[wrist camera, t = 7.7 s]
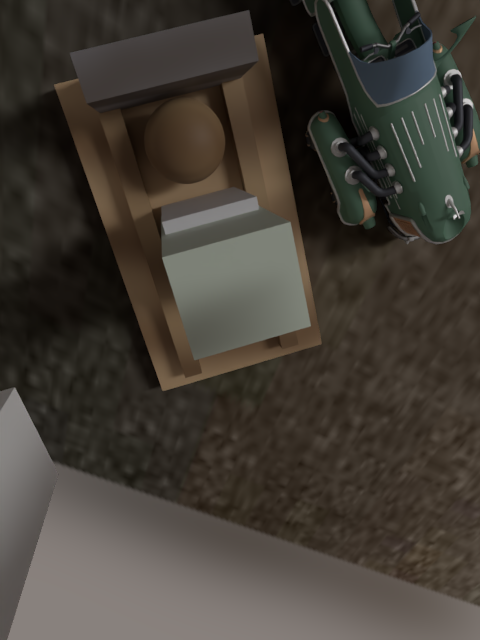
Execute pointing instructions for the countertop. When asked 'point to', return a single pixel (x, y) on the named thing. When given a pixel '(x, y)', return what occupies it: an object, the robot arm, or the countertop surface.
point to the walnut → (184, 140)
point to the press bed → (155, 190)
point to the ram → (231, 271)
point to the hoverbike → (395, 122)
